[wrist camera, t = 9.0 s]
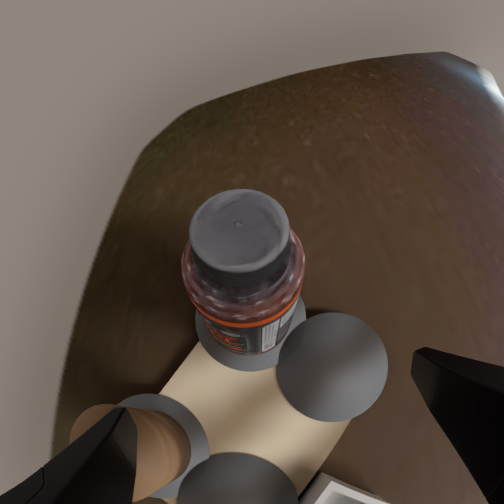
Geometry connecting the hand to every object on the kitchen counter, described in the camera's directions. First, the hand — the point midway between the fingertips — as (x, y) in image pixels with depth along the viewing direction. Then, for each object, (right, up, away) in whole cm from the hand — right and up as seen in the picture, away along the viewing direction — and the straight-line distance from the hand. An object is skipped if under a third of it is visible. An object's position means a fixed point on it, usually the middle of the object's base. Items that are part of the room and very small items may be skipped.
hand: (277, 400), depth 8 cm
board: (-1, -8, +11) cm, 13 cm away
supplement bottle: (-1, -1, +14) cm, 14 cm away
